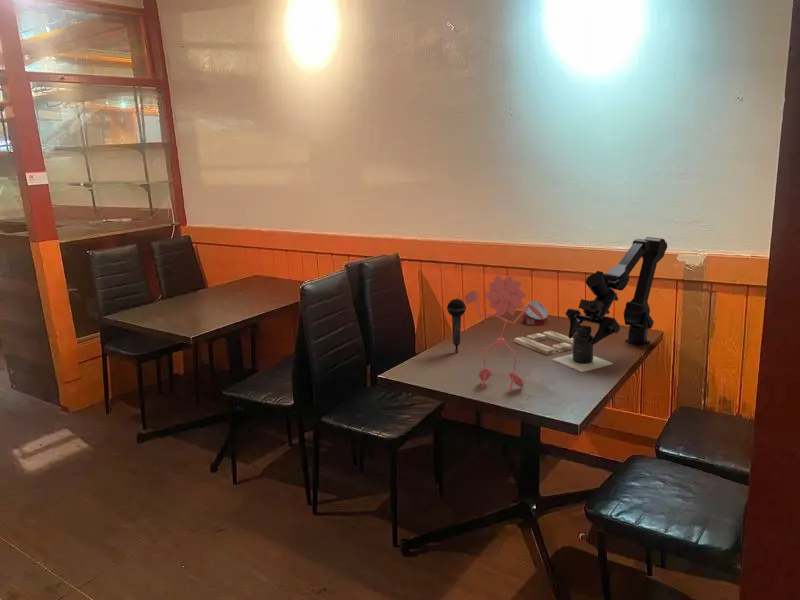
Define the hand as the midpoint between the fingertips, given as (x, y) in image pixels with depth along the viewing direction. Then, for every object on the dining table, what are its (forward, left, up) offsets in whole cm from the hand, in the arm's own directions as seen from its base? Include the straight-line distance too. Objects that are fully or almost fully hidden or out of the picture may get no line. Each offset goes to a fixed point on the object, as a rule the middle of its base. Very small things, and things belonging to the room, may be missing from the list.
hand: (580, 340), depth 210 cm
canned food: (-20, -46, -8) cm, 51 cm away
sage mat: (-1, 0, -8) cm, 8 cm away
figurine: (+33, +1, -8) cm, 34 cm away
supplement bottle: (-1, 0, -8) cm, 8 cm away
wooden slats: (-5, -21, -8) cm, 23 cm away
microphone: (+29, -32, -8) cm, 44 cm away
